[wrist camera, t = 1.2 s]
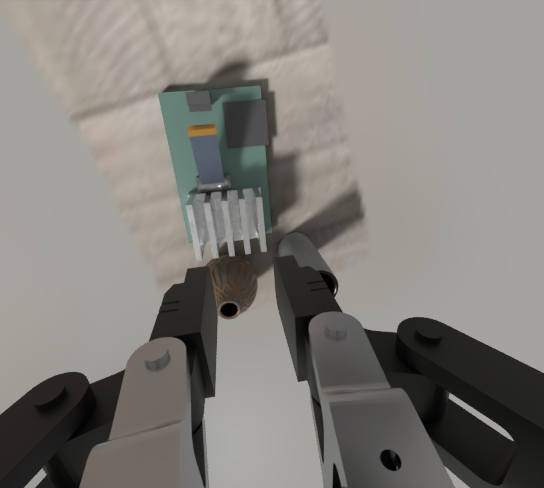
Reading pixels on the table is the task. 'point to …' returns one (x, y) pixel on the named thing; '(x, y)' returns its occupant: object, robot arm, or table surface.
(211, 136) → the blue-grey flat piece
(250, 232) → the heatsink
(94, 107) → the table surface
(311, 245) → the planter
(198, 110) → the block
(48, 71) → the table surface
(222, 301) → the vase
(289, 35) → the table surface
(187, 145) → the board
